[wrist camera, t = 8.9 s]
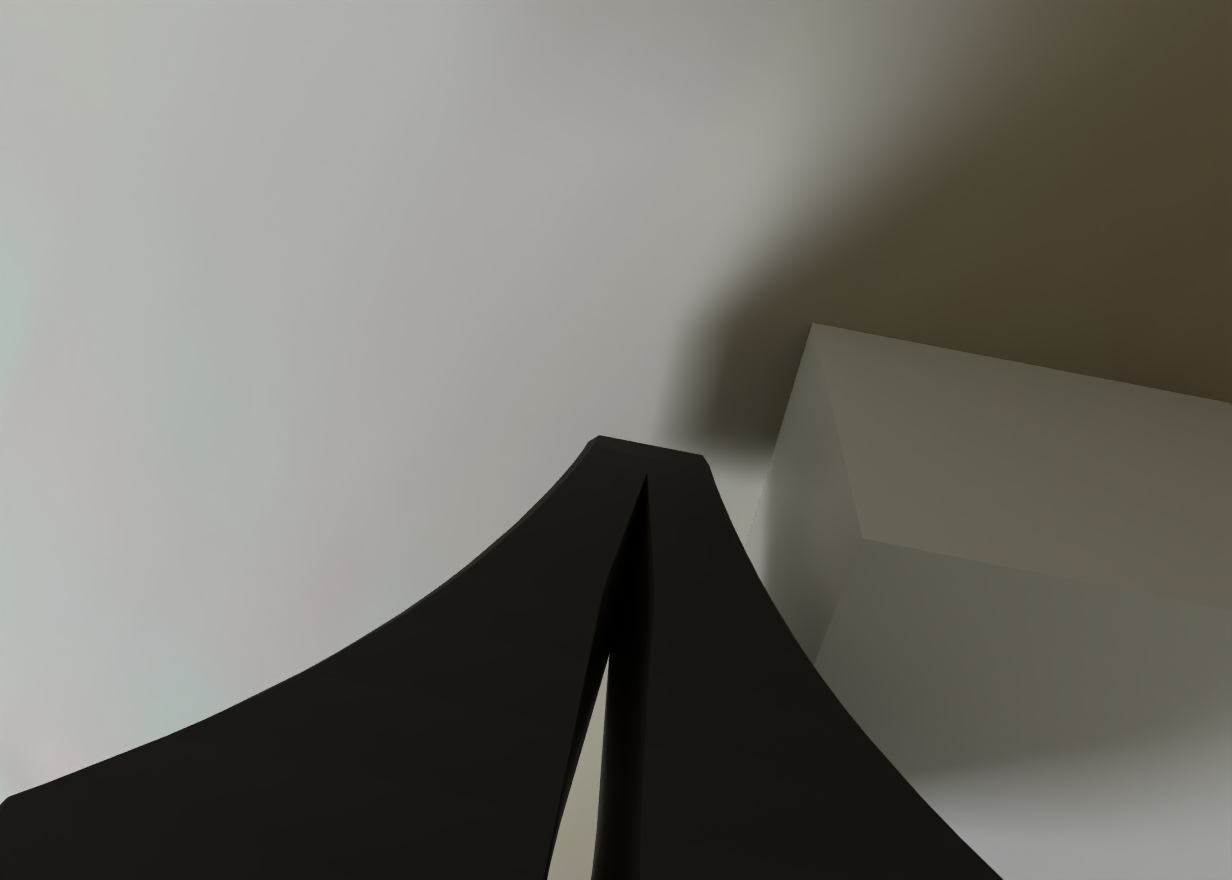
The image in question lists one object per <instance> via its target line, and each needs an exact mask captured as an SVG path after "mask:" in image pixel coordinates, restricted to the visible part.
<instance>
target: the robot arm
mask: <svg viewBox="0 0 1232 880" xmlns="http://www.w3.org/2000/svg"><path fill="white" fill-rule="evenodd" d="M608 657H609V666H608V680H607V693H606V707H605V721H604V735H603V749H602V764H601V778H600V792H599V806H598V820H597V833H596V842H595V851H594V860H593V869H592V876H591V880H1004V879H1002V878H1001V877H1000V876H999V875H998V874H997V873H996V872H995V871H994V870H993V869H992V868H991V867H990V866H989V865H988V864H987V863H986V862H985V861H984V860H983V859H982V858H981V857H980V856H979V855H978V854H977V853H976V852H975V851H974V850H973V849H972V848H971V847H970V846H969V845H968V844H967V843H966V842H965V841H963V840H962V839H961V838H960V837H959V836H958V835H957V833H956V832H955V831H954V830H953V829H952V828H951V827H950V826H949V825H948V824H947V823H946V822H945V821H944V820H943V819H942V818H941V817H940V816H939V815H938V814H937V813H936V812H935V811H934V810H933V808H932V807H931V806H930V805H929V804H928V803H927V802H926V801H925V800H924V799H923V798H922V797H921V796H920V795H919V794H918V792H917V791H916V790H915V789H914V788H913V787H912V786H911V785H910V783H909V782H908V781H907V780H906V779H905V778H904V777H903V776H902V774H901V773H900V772H899V771H898V770H897V769H896V768H895V766H894V765H893V764H892V763H891V762H890V761H889V760H888V759H887V757H886V756H885V755H884V754H883V753H882V752H881V751H880V750H879V748H878V747H877V746H876V745H875V744H874V743H873V742H872V741H871V739H870V738H869V737H868V736H867V735H866V733H865V732H864V731H863V730H862V729H861V727H860V726H859V725H858V724H857V722H856V721H855V720H854V719H853V718H852V716H851V715H850V714H849V713H848V711H847V710H846V709H845V708H844V706H843V705H842V704H841V702H840V701H839V700H838V698H837V697H836V696H835V694H834V693H833V692H832V690H831V689H830V688H829V686H828V685H827V684H826V682H825V681H824V680H823V678H822V677H821V675H820V674H819V673H818V671H817V670H816V668H815V667H814V665H813V664H812V663H811V661H810V660H809V658H808V657H807V655H806V654H805V652H804V651H803V649H802V648H801V646H800V645H799V643H798V642H797V640H796V638H795V637H794V635H793V634H792V632H791V631H790V629H789V627H788V626H787V624H786V622H785V621H784V619H783V618H782V616H781V614H780V613H779V611H778V609H777V608H776V606H775V604H774V603H773V601H772V599H771V598H770V596H769V594H768V592H767V590H766V589H765V587H764V585H763V583H762V582H761V580H760V578H759V576H758V574H757V572H756V570H755V568H754V566H753V564H752V563H751V561H750V559H749V557H748V555H747V553H746V551H745V549H744V547H743V545H742V543H741V541H740V539H739V537H738V535H737V533H736V531H735V529H734V526H733V524H732V522H731V520H730V518H729V515H728V513H727V511H726V508H725V506H724V504H723V501H722V499H721V496H720V494H719V492H718V489H717V486H716V484H715V481H714V478H713V475H712V472H711V469H710V466H709V464H708V463H707V461H706V460H705V458H704V457H703V455H698V454H693V453H688V452H683V451H678V450H673V449H667V448H662V447H657V446H652V445H647V444H642V443H637V442H632V441H626V440H621V439H616V438H611V437H606V436H601V435H599V436H597V437H596V438H594V439H592V440H590V441H589V442H588V443H587V445H586V446H585V448H584V449H583V451H582V452H581V454H580V455H579V456H578V458H577V459H576V460H575V461H574V463H573V464H572V465H571V466H570V467H569V469H568V470H567V471H566V472H565V473H564V474H563V476H562V477H561V478H560V479H559V480H558V481H557V482H556V483H555V484H554V486H553V487H552V488H551V489H550V490H549V491H548V492H547V493H546V494H545V495H544V496H543V497H542V498H541V499H540V500H539V501H538V502H537V503H536V504H535V505H534V506H533V507H532V508H531V509H530V510H529V511H528V512H527V513H526V514H525V515H524V516H523V517H522V518H521V519H520V520H519V521H518V522H517V523H516V524H515V525H513V526H512V527H511V528H510V529H509V530H508V531H507V532H506V533H504V534H503V535H502V536H501V537H500V538H499V539H497V540H496V541H495V542H494V543H493V544H492V545H490V546H489V547H488V548H487V549H486V550H485V551H483V552H482V553H481V554H480V555H479V556H478V557H476V558H475V559H474V560H473V561H472V562H471V563H469V564H468V565H467V566H466V567H464V568H463V569H462V570H460V571H459V572H458V573H457V574H455V575H454V576H453V577H451V578H450V579H449V580H447V581H446V582H445V583H443V584H442V585H441V586H439V587H438V588H437V589H435V590H434V591H432V592H431V593H430V594H428V595H427V596H425V597H424V598H422V599H421V600H420V601H418V602H417V603H415V604H414V605H412V606H411V607H409V608H408V609H407V610H405V611H404V612H402V613H401V614H399V615H398V616H396V617H394V618H393V619H391V620H390V621H388V622H386V623H385V624H383V625H381V626H380V627H378V628H377V629H375V630H373V631H372V632H370V633H368V634H367V635H365V636H364V637H362V638H360V639H359V640H357V641H355V642H354V643H352V644H351V645H349V646H347V647H346V648H344V649H342V650H341V651H339V652H337V653H335V654H334V655H332V656H330V657H328V658H326V659H325V660H323V661H321V662H319V663H318V664H316V665H314V666H312V667H310V668H308V669H307V670H305V671H303V672H301V673H299V674H297V675H295V676H293V677H291V678H289V679H287V680H285V681H283V682H281V683H279V684H277V685H275V686H273V687H271V688H269V689H267V690H265V691H262V692H260V693H258V694H256V695H254V696H252V697H250V698H248V699H246V700H244V701H242V702H240V703H238V704H236V705H234V706H232V707H230V708H228V709H226V710H224V711H222V712H220V713H218V714H215V715H213V716H211V717H209V718H207V719H205V720H202V721H200V722H198V723H195V724H193V725H191V726H188V727H186V728H184V729H182V730H179V731H177V732H175V733H172V734H170V735H168V736H165V737H163V738H160V739H158V740H155V741H152V742H150V743H147V744H145V745H142V746H140V747H137V748H135V749H132V750H130V751H127V752H124V753H122V754H119V755H117V756H114V757H112V758H109V759H107V760H104V761H102V762H99V763H96V764H94V765H91V766H89V767H86V768H84V769H81V770H79V771H76V772H74V773H71V774H69V775H66V776H63V777H61V778H58V779H56V780H53V781H51V782H48V783H46V784H43V785H40V786H37V787H34V788H32V789H29V790H26V791H23V792H21V793H18V794H15V795H12V796H10V797H8V798H6V799H5V800H4V801H3V802H2V804H1V805H0V880H547V877H548V872H549V867H550V863H551V859H552V855H553V850H554V846H555V842H556V838H557V834H558V830H559V826H560V822H561V819H562V815H563V812H564V809H565V805H566V802H567V798H568V795H569V791H570V788H571V784H572V781H573V778H574V774H575V771H576V767H577V764H578V760H579V757H580V753H581V750H582V747H583V743H584V740H585V736H586V733H587V729H588V726H589V722H590V719H591V716H592V712H593V709H594V705H595V702H596V698H597V695H598V691H599V688H600V684H601V681H602V678H603V674H604V671H605V667H606V664H607V660H608Z"/></svg>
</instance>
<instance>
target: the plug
mask: <svg viewBox="0 0 1232 880" xmlns="http://www.w3.org/2000/svg"><path fill="white" fill-rule="evenodd" d="M745 551H746V553H747V555H748V557H749V559H750V561H751V563H752V564H753V566H754V568H755V570H756V572H757V574H758V576H759V578H760V580H761V582H762V583H763V585H764V587H765V589H766V590H767V592H768V594H769V596H770V598H771V599H772V601H773V603H774V604H775V606H776V608H777V609H778V611H779V613H780V614H781V616H782V618H783V619H784V621H785V622H786V624H787V626H788V627H789V629H790V631H791V632H792V634H793V635H794V637H795V638H796V640H797V642H798V643H799V645H800V646H801V648H802V649H803V651H804V652H805V654H806V655H807V657H808V658H809V660H810V661H811V663H812V664H813V665H814V667H815V668H816V670H817V671H818V673H819V674H820V675H821V677H822V678H823V680H824V681H825V682H826V684H827V685H828V686H829V688H830V689H831V690H832V692H833V693H834V694H835V696H836V697H837V698H838V700H839V701H840V702H841V704H842V705H843V706H844V708H845V709H846V710H847V711H848V713H849V714H850V715H851V716H852V718H853V719H854V720H855V721H856V722H857V724H858V725H859V726H860V727H861V729H862V730H863V731H864V732H865V733H866V735H867V736H868V737H869V738H870V739H871V741H872V742H873V743H874V744H875V745H876V746H877V747H878V748H879V750H880V751H881V752H882V753H883V754H884V755H885V756H886V757H887V759H888V760H889V761H890V762H891V763H892V764H893V765H894V766H895V768H896V769H897V770H898V771H899V772H900V773H901V774H902V776H903V777H904V778H905V779H906V780H907V781H908V782H909V783H910V785H911V786H912V787H913V788H914V789H915V790H916V791H917V792H918V794H919V795H920V796H921V797H922V798H923V799H924V800H925V801H926V802H927V803H928V804H929V805H930V806H931V807H932V808H933V810H934V811H935V812H936V813H937V814H938V815H939V816H940V817H941V818H942V819H943V820H944V821H945V822H946V823H947V824H948V825H949V826H950V827H951V828H952V829H953V830H954V831H955V832H956V833H957V835H958V836H959V837H960V838H961V839H962V840H963V841H965V842H966V843H967V844H968V845H969V846H970V847H971V848H972V849H973V850H974V851H975V852H976V853H977V854H978V855H979V856H980V857H981V858H982V859H983V860H984V861H985V862H986V863H987V864H988V865H989V866H990V867H991V868H992V869H993V870H994V871H995V872H996V873H997V874H998V875H999V876H1000V877H1001V878H1002V879H1004V880H1232V404H1230V403H1228V402H1223V401H1218V400H1213V399H1207V398H1202V397H1197V396H1192V395H1187V394H1181V393H1176V392H1171V391H1166V390H1161V389H1155V388H1150V387H1145V386H1140V385H1135V384H1129V383H1124V382H1119V381H1114V380H1108V379H1103V378H1098V377H1093V376H1088V375H1082V374H1077V373H1072V372H1067V371H1062V370H1056V369H1051V368H1046V367H1041V366H1036V365H1030V364H1025V363H1020V362H1015V361H1010V360H1004V359H999V358H994V357H989V356H983V355H978V354H973V353H968V352H963V351H957V350H952V349H947V348H942V347H937V346H931V345H926V344H921V343H916V342H911V341H905V340H900V339H895V338H890V337H884V336H879V335H874V334H869V333H864V332H858V331H853V330H848V329H843V328H838V327H832V326H827V325H822V324H817V323H812V325H811V329H810V332H809V335H808V339H807V342H806V345H805V349H804V352H803V355H802V359H801V362H800V365H799V369H798V372H797V375H796V379H795V382H794V385H793V389H792V392H791V395H790V399H789V402H788V405H787V409H786V412H785V415H784V419H783V422H782V425H781V429H780V432H779V435H778V439H777V442H776V445H775V449H774V452H773V455H772V459H771V462H770V465H769V469H768V472H767V475H766V479H765V482H764V485H763V489H762V492H761V495H760V499H759V502H758V505H757V509H756V512H755V515H754V519H753V522H752V525H751V529H750V532H749V535H748V539H747V542H746V545H745Z"/></svg>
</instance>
